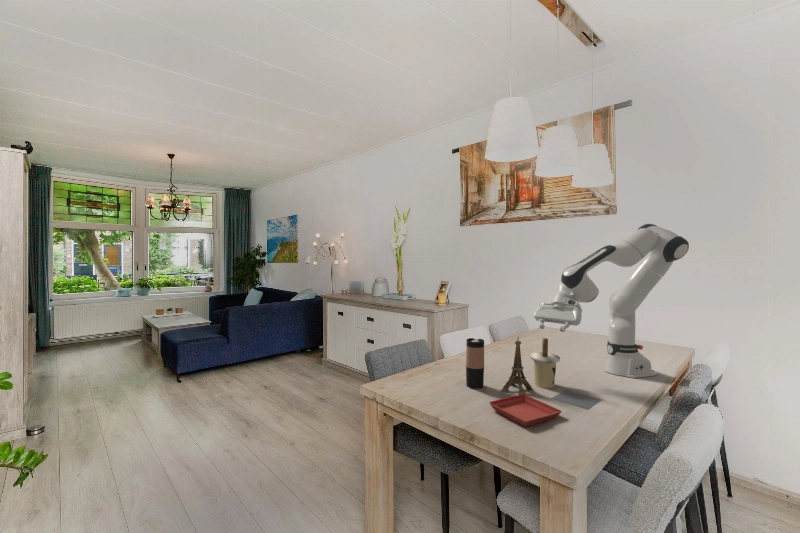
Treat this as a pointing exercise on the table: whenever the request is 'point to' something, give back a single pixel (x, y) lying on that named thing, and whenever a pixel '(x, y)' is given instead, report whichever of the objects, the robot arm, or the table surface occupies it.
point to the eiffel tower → (517, 370)
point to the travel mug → (474, 363)
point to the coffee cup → (544, 374)
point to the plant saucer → (525, 409)
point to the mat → (577, 399)
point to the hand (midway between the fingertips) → (551, 329)
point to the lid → (545, 354)
